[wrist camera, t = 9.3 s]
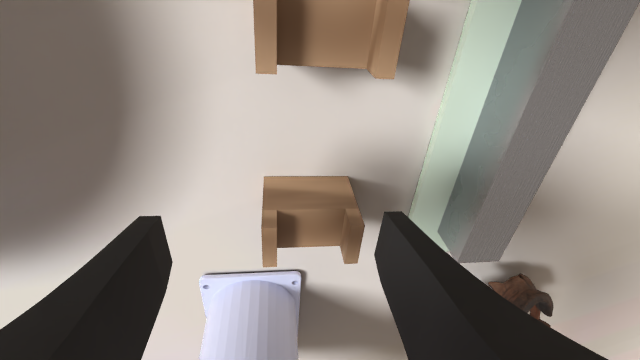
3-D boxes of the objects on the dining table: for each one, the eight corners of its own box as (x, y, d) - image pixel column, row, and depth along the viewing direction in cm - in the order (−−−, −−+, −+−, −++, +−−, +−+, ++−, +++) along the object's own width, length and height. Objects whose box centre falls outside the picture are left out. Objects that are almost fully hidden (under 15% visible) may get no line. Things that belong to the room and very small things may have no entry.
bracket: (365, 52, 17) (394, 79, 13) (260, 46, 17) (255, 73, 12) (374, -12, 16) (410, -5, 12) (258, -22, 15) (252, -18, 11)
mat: (488, 244, 27) (492, 249, 27) (399, 247, 26) (401, 253, 26) (628, -37, 16) (639, -37, 16) (486, -52, 15) (493, -53, 15)
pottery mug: (409, 272, 29) (497, 324, 22) (474, 230, 33) (566, 263, 26) (420, 368, 33) (498, 437, 26) (477, 320, 37) (557, 369, 30)
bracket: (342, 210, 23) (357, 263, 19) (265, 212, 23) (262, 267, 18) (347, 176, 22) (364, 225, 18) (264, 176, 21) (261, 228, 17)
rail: (437, 231, 25) (475, 230, 25) (456, 263, 22) (498, 261, 23) (541, -54, 15) (600, -48, 15) (599, -59, 12) (668, -51, 13)
